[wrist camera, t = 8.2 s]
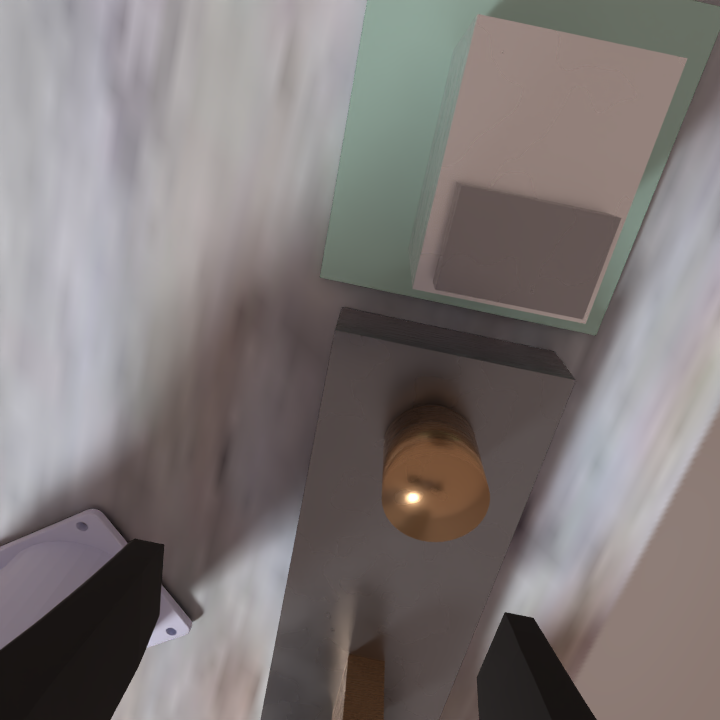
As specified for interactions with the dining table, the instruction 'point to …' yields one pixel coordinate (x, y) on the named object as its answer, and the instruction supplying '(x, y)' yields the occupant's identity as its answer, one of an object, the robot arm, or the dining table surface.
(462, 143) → the lever cap
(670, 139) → the mat
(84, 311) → the dining table surface
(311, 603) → the hand plane
